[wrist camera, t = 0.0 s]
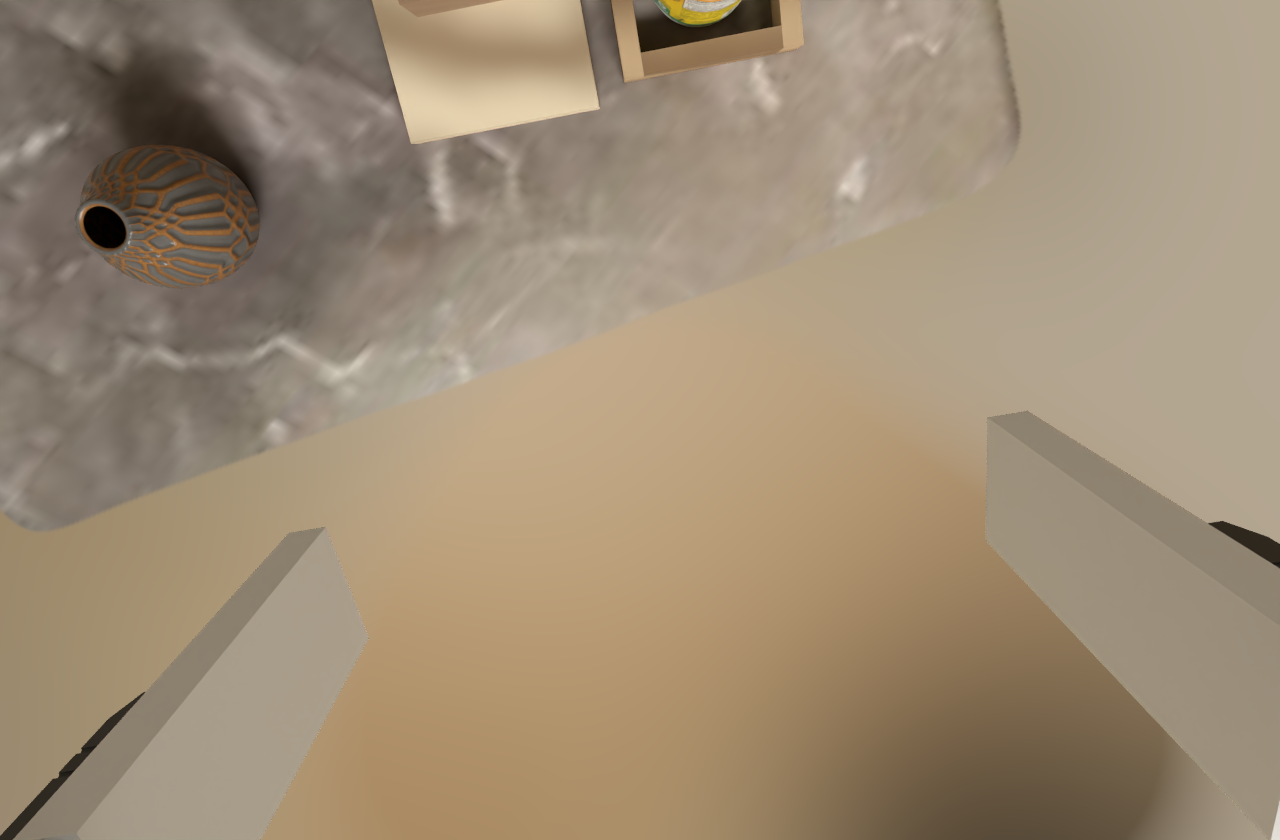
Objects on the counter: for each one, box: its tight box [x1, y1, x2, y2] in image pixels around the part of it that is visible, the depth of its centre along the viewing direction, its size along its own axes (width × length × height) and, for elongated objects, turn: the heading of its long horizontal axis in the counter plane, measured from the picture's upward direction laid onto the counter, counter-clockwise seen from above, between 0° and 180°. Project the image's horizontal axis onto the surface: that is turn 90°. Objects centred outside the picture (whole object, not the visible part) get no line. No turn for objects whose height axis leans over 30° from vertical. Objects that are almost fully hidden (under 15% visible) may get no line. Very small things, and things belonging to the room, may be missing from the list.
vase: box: [75, 145, 260, 288], centre depth 34 cm, size 7×7×9 cm
